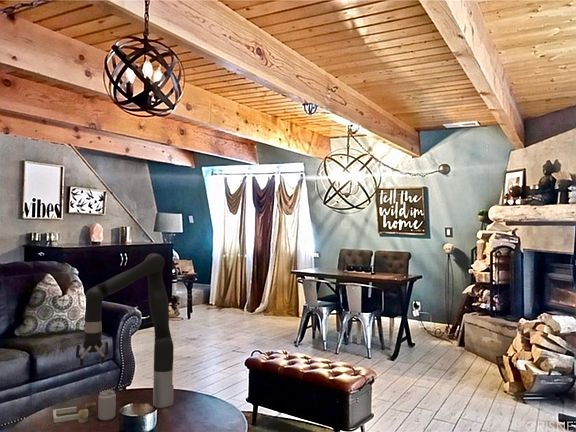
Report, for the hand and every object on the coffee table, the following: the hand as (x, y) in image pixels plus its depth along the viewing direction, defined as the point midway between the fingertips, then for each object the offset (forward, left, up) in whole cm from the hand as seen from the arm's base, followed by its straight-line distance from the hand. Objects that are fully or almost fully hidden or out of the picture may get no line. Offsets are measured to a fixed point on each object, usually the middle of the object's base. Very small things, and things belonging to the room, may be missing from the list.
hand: (91, 365), depth 228 cm
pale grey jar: (-6, +9, -23) cm, 25 cm away
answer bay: (+10, -1, -23) cm, 25 cm away
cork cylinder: (+4, +9, -23) cm, 25 cm away
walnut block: (0, 0, -23) cm, 23 cm away
